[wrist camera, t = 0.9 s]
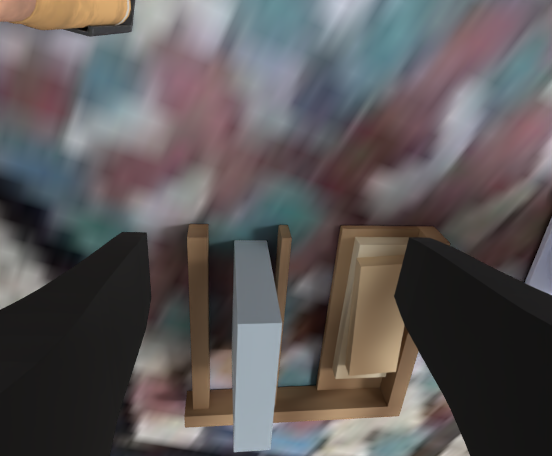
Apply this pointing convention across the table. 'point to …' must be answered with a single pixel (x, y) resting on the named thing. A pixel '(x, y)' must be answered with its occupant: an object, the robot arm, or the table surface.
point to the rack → (288, 400)
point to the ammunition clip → (71, 15)
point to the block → (254, 345)
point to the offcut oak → (374, 317)
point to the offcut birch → (360, 249)
